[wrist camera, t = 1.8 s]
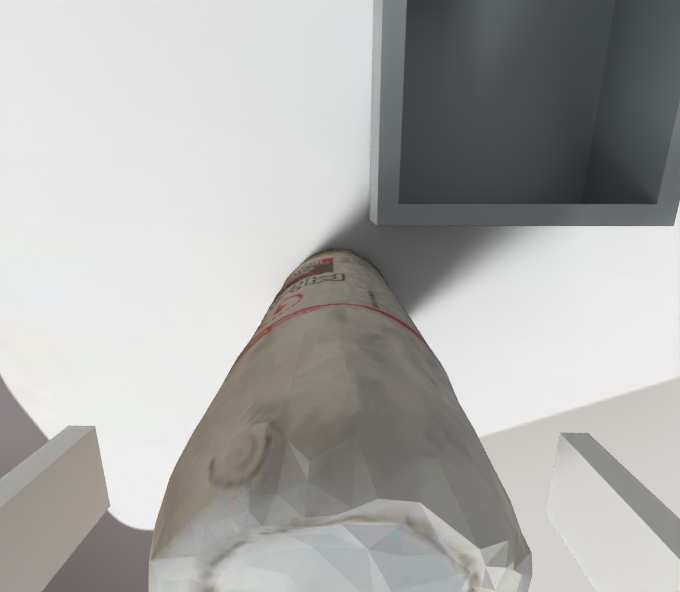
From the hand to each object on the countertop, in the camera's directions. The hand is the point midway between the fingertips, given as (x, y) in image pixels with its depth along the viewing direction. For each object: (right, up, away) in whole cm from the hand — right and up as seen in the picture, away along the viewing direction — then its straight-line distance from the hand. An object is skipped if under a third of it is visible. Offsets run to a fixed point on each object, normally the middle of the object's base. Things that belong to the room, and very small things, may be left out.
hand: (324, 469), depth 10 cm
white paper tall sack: (0, +4, +15) cm, 16 cm away
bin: (+9, +17, +11) cm, 22 cm away
